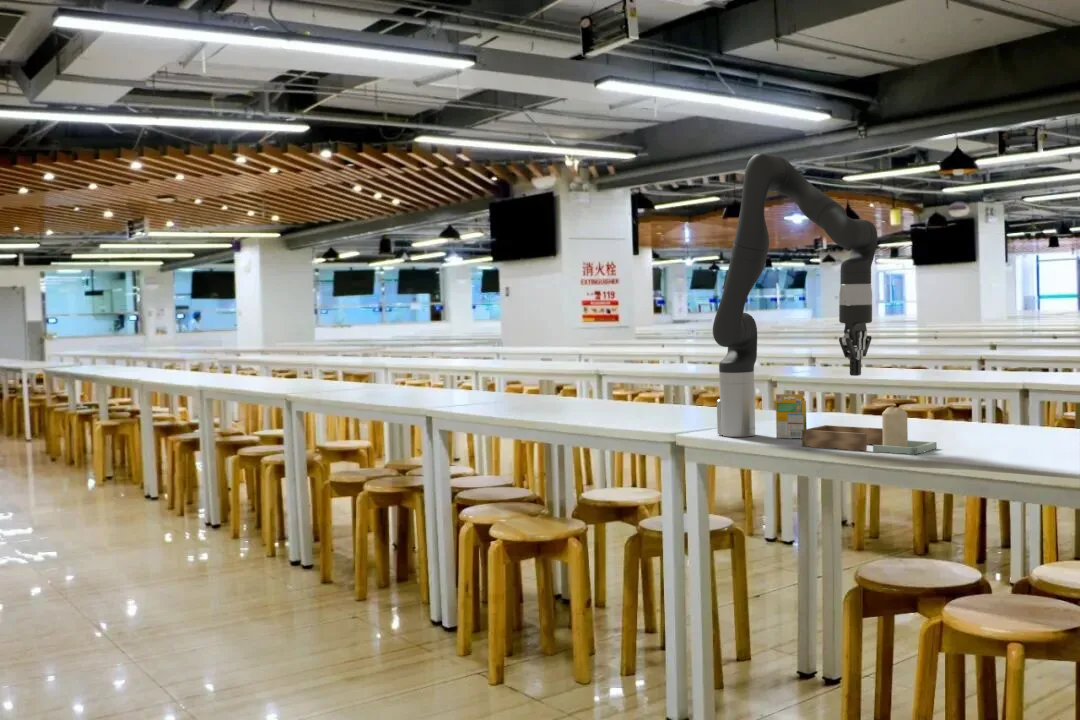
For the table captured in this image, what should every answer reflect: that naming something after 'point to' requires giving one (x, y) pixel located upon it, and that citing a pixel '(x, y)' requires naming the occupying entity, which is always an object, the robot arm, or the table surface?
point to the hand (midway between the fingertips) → (855, 375)
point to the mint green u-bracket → (912, 448)
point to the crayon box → (790, 416)
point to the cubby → (842, 437)
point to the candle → (895, 427)
